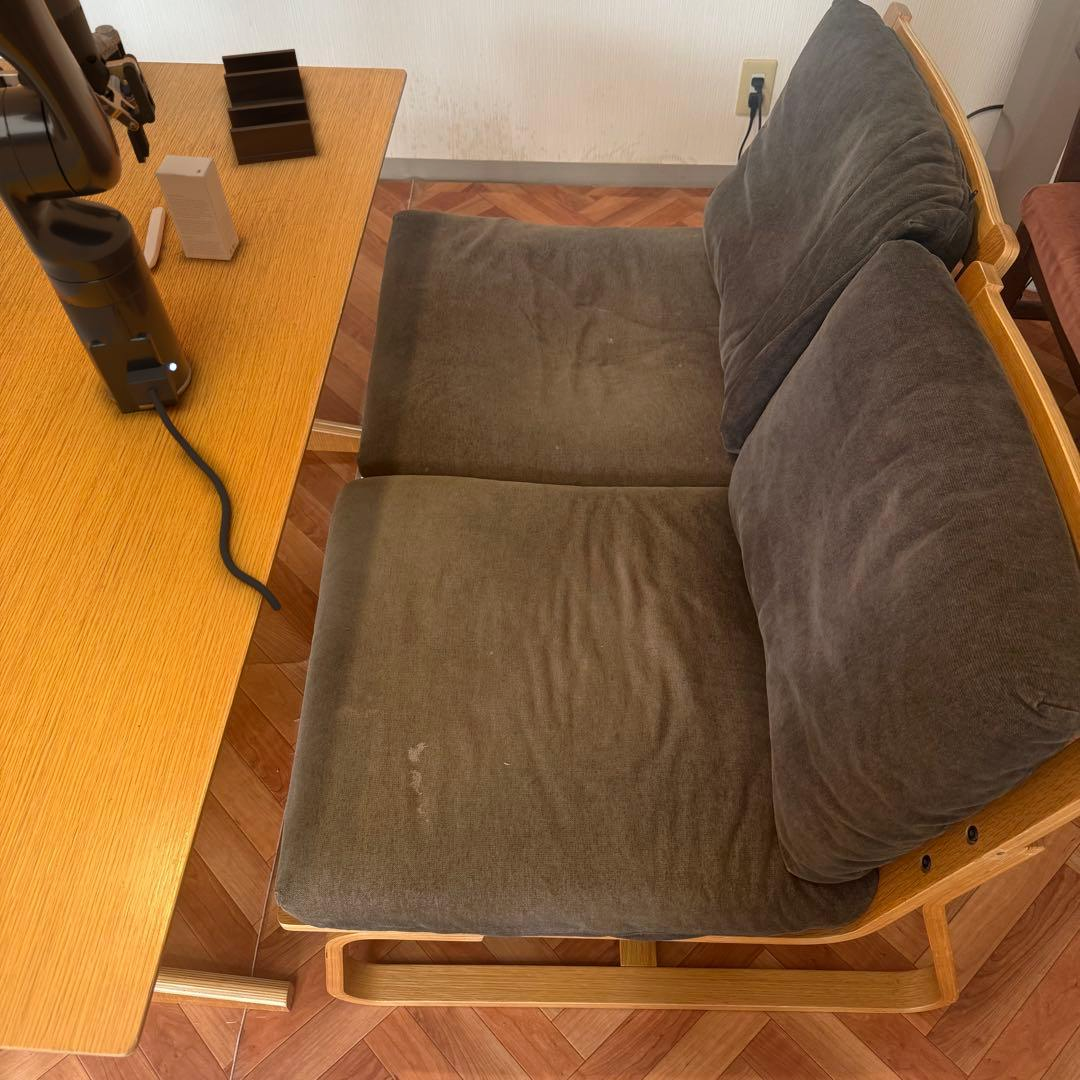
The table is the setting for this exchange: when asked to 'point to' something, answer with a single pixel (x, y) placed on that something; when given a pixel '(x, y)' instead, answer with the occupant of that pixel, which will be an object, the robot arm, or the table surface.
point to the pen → (154, 236)
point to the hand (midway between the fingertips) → (101, 163)
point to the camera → (112, 55)
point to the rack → (267, 107)
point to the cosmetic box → (198, 206)
